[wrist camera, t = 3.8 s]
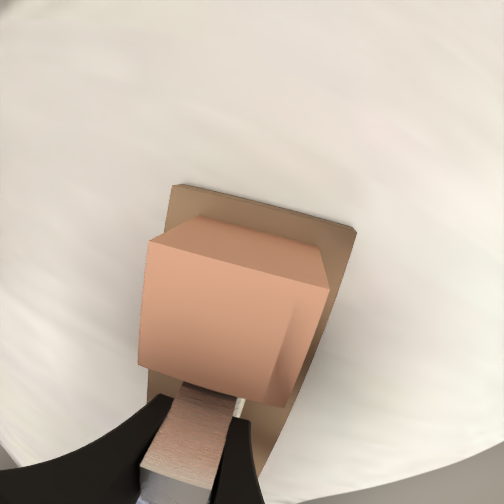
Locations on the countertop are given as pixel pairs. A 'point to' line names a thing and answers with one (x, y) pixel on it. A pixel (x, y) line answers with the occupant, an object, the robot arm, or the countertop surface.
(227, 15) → the countertop surface
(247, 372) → the socket
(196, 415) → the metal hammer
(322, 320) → the walnut board
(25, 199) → the countertop surface
